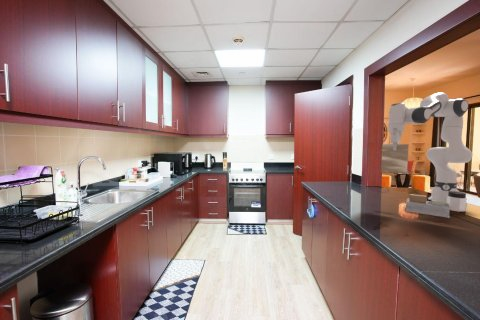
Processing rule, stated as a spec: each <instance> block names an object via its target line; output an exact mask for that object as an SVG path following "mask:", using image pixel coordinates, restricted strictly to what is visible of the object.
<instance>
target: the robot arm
mask: <svg viewBox="0 0 480 320" xmlns="http://www.w3.org/2000/svg"><path fill="white" fill-rule="evenodd" d="M468 109H469V103H468V100H467V99H465V98H456V99H450V97H449V94H447V93H445V92H437V93H433V94H430V95H428V96H426V97H425V98H423V99H422V100H421V101H420V103H419V106H418V107H412V108H411V107H410V108H409V107H407V106H406V104H405V103H404V102H398V103H396V102H395V103H393V104H391V105H390V107H389V111H388V125H387V132H389V134H390V139H389V141H390V144H393V150H397V144H401V140H402V137H403V136H402V135H403V132H405V128H406V127H405V126H406V125H409V124H425V123H427V122H428V121H429V120H430V119H431V117H432V118H442V117H443V118H444V120H443V122H442V126H441V133H440V138H441V140H442V141H443V142H445V143H447V144H448V146H447V147H446V146H437V147H430V148H428V150H427V151H426V153H425V154H426V155H425V156H426V159H427V160H428V161H430V163H432V164H433V166H434V168H435V173H436V174H435V175H436V176H435V177H436V179H435V181H434V187H432V189H431V191H430V192H431V193H430V196H429V197H427V199H428V200H427V201H429V200H430V201H432V200H435V201H444V202H445V203H447V196H448V192H449V191H455V192H460V190H458V189H457V187H458V182H457V178H458V173H457V171H456V170H455V169H453V168H452V167H451V166H449V164H466V163H469V162H470V161H471V160H472V159H473V153H472V150H470V148H468V147H467V146H466V145H465V144H464V142H463V138H462V137H463V128H464V117H463V116H464V115H465V114H466V113H467V112H468ZM448 163H449V164H448Z"/></svg>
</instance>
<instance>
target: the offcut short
mask: <svg viewBox="0 0 480 320" xmlns="http://www.w3.org/2000/svg"><path fill="white" fill-rule="evenodd" d="M431 202H432V203H431V204H433V205H441V206H445V202H444V201H435V200H431Z"/></svg>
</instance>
